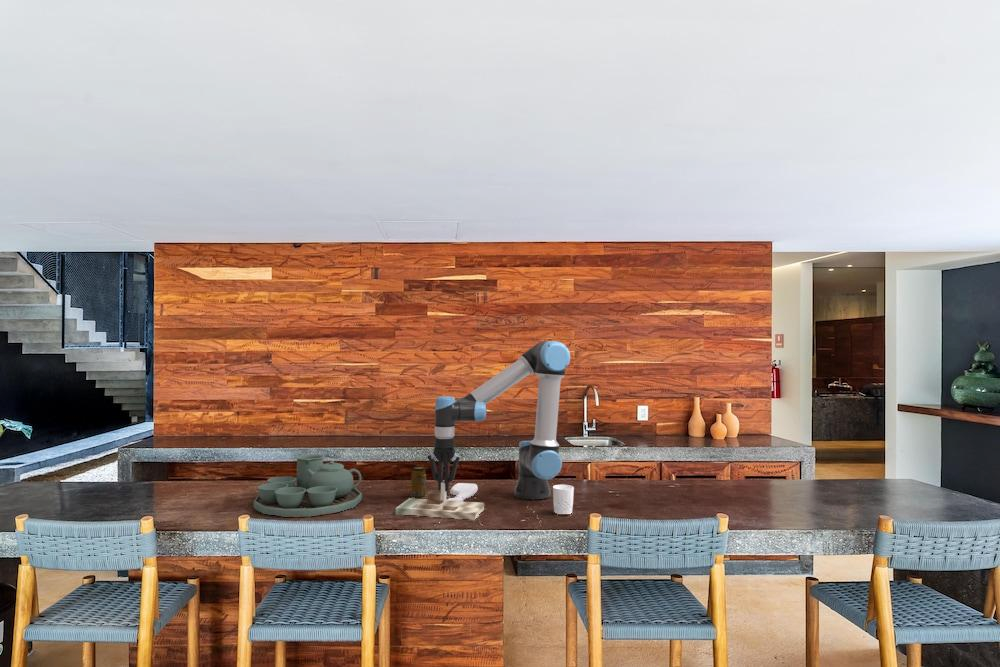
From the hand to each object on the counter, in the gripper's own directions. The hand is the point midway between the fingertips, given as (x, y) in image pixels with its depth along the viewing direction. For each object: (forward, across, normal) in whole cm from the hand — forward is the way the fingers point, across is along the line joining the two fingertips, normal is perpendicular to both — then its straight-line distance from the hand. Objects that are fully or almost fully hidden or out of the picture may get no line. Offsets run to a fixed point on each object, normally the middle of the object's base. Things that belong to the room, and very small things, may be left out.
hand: (443, 499), depth 233 cm
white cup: (+4, -45, -5) cm, 45 cm away
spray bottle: (+5, -1, -23) cm, 23 cm away
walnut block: (+1, +3, 0) cm, 3 cm away
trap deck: (+4, 0, +3) cm, 5 cm away
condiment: (+4, +15, -16) cm, 22 cm away
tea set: (+5, +53, +4) cm, 53 cm away
